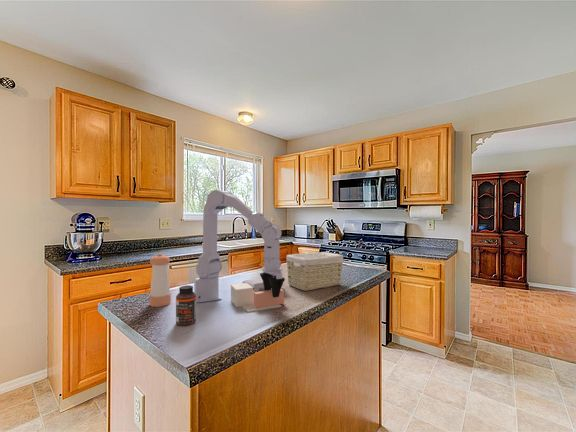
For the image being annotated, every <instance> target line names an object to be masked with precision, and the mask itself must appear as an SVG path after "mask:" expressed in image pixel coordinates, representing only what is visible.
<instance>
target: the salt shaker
mask: <svg viewBox="0 0 576 432" xmlns="http://www.w3.org/2000/svg"><path fill="white" fill-rule="evenodd" d="M170 261H171V260H170V257H169V256H167V255H164V254H163V253H158V254H157V255H154V256H152V257H151V258H150V259H149V263H150V265H151V267H152V269H151V281H150V294H149V306H150V307H152V308H154V307H155V308H156V307H157V308H159V307H164V306H167V305H169V304H171V302H172V301H171V300H172V298H171V297H172V295H171V292H170V286H171V285H170V280H169V279H170V278H169V265H168V264H170Z"/></svg>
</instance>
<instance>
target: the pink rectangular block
mask: <svg viewBox="0 0 576 432" xmlns="http://www.w3.org/2000/svg"><path fill="white" fill-rule="evenodd" d="M278 304H280V305H282V304H283V305H284V304H285V291H284V289H282V288H281V290H280V294H279V297H273V295H272V289H271V290H267V291H260V292H254V306H255V307H256V308H259V307H266V306H272V305H278Z"/></svg>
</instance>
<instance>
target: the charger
mask: <svg viewBox="0 0 576 432" xmlns="http://www.w3.org/2000/svg"><path fill="white" fill-rule="evenodd" d="M241 283H249V284H250V285H252V286H253V287H254V292H260V291H265V289H264V284H263V280H262V278H259V277H256V278H255V277H254V278H249V279H244V280H243V281H242V282H241Z"/></svg>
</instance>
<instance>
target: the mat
mask: <svg viewBox="0 0 576 432" xmlns="http://www.w3.org/2000/svg"><path fill="white" fill-rule="evenodd" d="M241 307H242V308H243V310H245V312H246V313H252V312H258V311H264V310H271V309H275V308H276V309H277V308H281V307H282V304H278V305H272V306H266V307H259V308H256V307H255V306H254V304H253V305H246V306H241Z"/></svg>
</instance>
